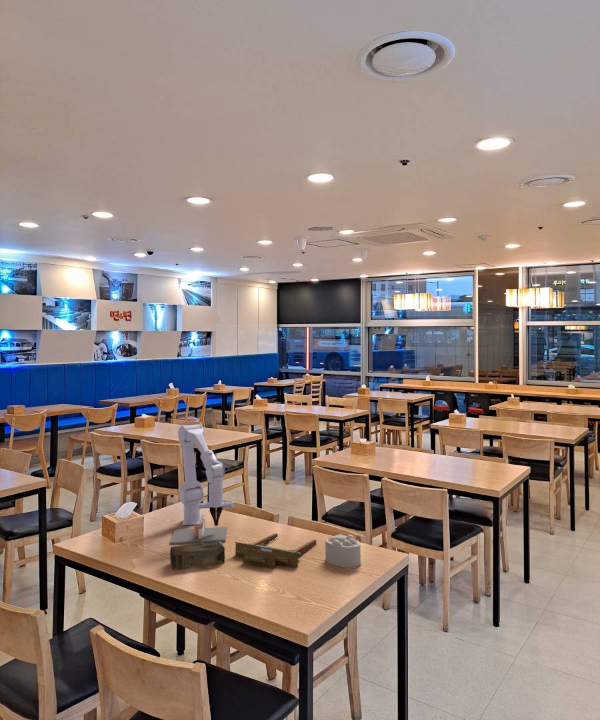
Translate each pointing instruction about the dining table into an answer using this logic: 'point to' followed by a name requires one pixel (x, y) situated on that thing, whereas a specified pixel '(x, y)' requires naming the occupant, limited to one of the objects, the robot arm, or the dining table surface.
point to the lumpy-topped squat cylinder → (343, 551)
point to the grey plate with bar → (193, 537)
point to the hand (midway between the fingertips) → (216, 525)
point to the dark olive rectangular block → (197, 555)
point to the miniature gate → (270, 553)
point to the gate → (201, 527)
